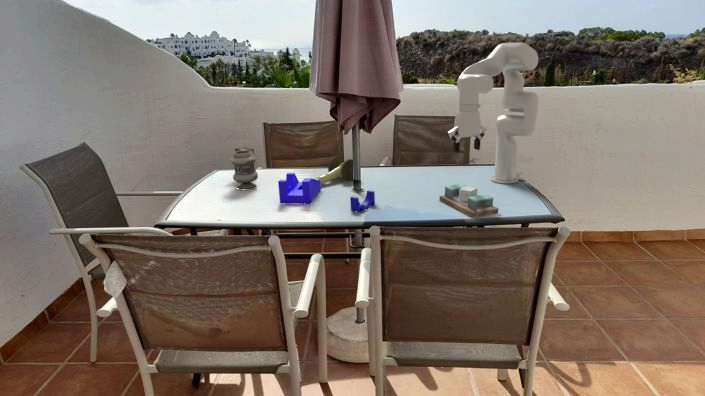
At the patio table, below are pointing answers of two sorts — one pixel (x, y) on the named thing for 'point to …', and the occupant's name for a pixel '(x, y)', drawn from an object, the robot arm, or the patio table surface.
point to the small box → (467, 193)
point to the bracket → (298, 189)
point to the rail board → (466, 210)
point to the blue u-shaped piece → (365, 204)
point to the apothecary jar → (244, 169)
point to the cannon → (338, 170)
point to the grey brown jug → (247, 149)
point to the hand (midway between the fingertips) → (466, 150)
